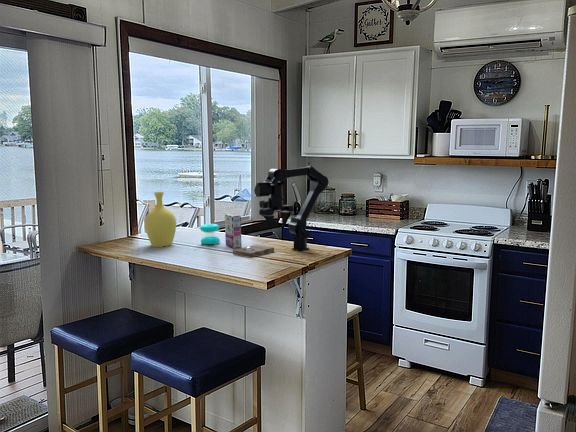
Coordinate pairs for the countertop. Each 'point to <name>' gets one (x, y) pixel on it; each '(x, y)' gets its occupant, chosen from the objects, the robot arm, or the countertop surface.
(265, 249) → the walnut plate
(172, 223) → the vase
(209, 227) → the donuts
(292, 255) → the countertop surface
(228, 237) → the candy bar box
